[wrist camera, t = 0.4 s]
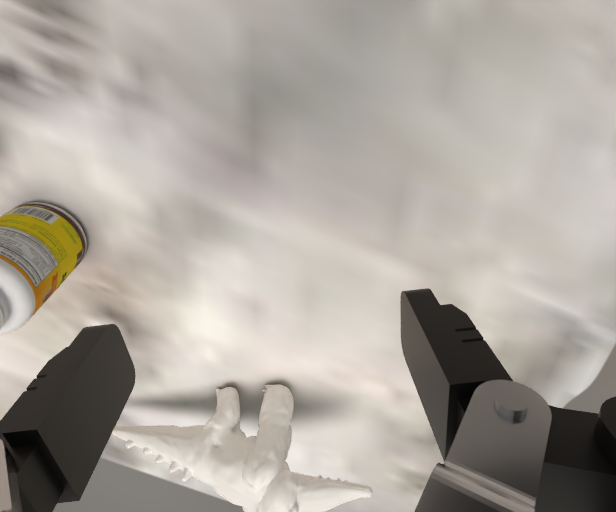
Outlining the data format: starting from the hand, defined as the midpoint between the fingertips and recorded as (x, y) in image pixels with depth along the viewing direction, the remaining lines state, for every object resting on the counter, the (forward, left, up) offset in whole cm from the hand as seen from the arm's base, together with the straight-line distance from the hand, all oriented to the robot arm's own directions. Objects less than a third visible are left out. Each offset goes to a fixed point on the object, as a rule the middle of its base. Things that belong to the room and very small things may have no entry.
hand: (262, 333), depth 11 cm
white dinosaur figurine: (+24, -1, -18) cm, 30 cm away
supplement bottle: (+8, -16, -18) cm, 25 cm away
